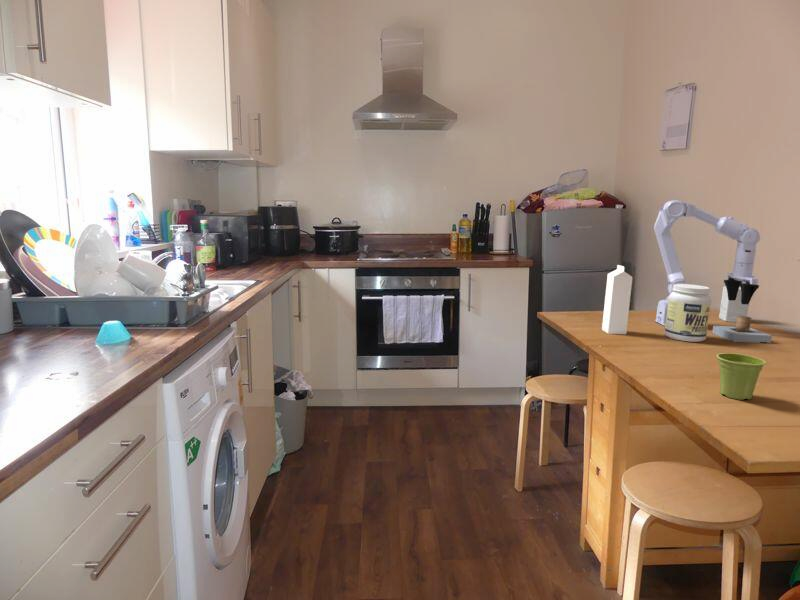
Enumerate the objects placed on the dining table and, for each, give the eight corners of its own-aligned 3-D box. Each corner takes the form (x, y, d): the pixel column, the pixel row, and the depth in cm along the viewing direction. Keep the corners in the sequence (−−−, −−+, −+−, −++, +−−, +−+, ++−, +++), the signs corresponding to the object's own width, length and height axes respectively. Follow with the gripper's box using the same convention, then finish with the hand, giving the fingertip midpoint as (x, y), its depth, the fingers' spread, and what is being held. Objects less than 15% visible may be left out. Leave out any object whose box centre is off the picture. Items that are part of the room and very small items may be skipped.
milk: (607, 333, 184) (614, 266, 180) (601, 329, 190) (607, 264, 186) (626, 334, 184) (633, 267, 180) (619, 330, 190) (626, 264, 186)
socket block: (733, 341, 179) (734, 334, 179) (712, 333, 191) (713, 325, 191) (770, 343, 179) (771, 335, 179) (747, 334, 191) (748, 327, 191)
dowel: (738, 339, 183) (741, 318, 182) (731, 336, 187) (734, 315, 186) (750, 339, 183) (754, 318, 182) (743, 336, 187) (746, 316, 186)
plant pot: (710, 397, 125) (715, 359, 124) (712, 386, 133) (717, 350, 131) (760, 406, 120) (766, 367, 119) (759, 394, 128) (765, 357, 127)
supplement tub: (680, 343, 175) (687, 289, 172) (655, 333, 187) (661, 283, 184) (715, 342, 177) (722, 289, 174) (687, 333, 189) (694, 283, 186)
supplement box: (746, 323, 211) (751, 289, 209) (725, 321, 212) (729, 288, 210) (739, 319, 218) (744, 286, 216) (718, 317, 219) (722, 285, 217)
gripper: (769, 265, 186) (763, 306, 188) (742, 261, 200) (737, 299, 203) (748, 265, 186) (742, 305, 188) (722, 260, 200) (717, 298, 202)
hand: (738, 302), depth 195 cm, fingers open, 7 cm apart
